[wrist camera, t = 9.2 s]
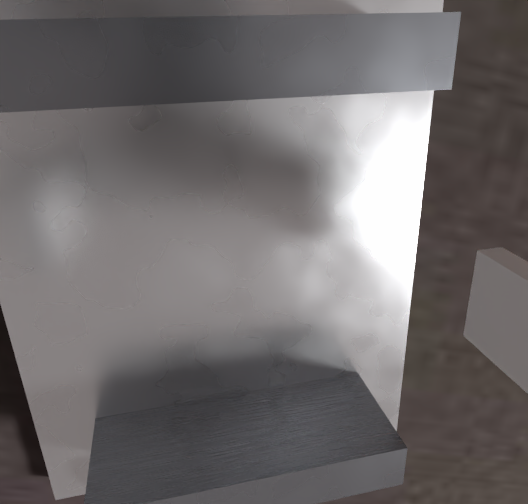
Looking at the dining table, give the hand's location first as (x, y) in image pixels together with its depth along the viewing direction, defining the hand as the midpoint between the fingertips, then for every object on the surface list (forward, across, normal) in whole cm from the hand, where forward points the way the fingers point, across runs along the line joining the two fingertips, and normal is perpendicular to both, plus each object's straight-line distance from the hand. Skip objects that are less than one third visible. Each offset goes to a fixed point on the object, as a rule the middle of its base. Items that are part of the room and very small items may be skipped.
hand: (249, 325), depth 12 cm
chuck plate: (+5, 0, 0) cm, 5 cm away
